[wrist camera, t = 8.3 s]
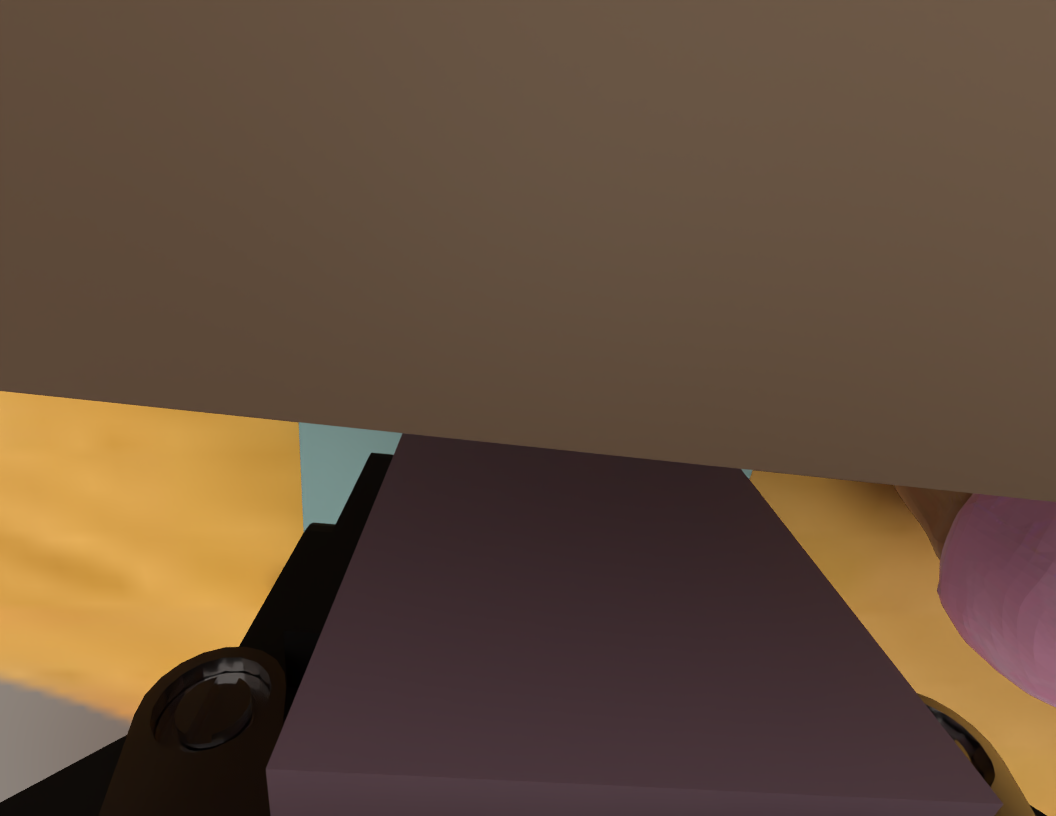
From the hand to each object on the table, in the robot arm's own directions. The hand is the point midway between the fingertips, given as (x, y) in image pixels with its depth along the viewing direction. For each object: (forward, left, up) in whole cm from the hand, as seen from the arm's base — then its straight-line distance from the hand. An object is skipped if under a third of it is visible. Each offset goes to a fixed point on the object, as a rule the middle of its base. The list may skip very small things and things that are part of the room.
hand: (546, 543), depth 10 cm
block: (0, 0, -1) cm, 1 cm away
